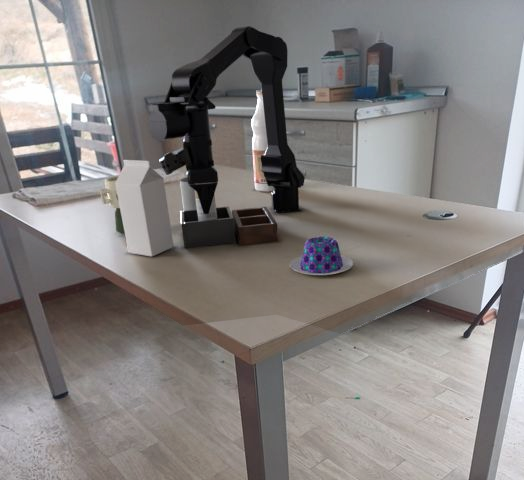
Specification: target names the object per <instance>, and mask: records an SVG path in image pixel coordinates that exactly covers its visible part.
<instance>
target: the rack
mask: <svg viewBox="0 0 524 480" xmlns="http://www.w3.org/2000/svg"><path fill="white" fill-rule="evenodd" d="M231 214H232V216H233V219H234V231H235V236H236V237H237V240H238V244H239V245H240V246H244V245H245V246H246V245H247V246H248V245H256V244H266V243H267V244H268V243H276V242H277V243H278V242H279V230H278V229H279V227H278V222H277V221H276V219H275V217H274V216H273V215H272V213H271V212H270V210H269V209H268V207H267V206H258V207H250V208H249V207H248V208H239V209H231Z"/></svg>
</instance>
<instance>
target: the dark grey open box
mask: <svg viewBox="0 0 524 480" xmlns="http://www.w3.org/2000/svg"><path fill="white" fill-rule="evenodd" d="M230 208H231V207H230V206H219V207H217V206H216V211H217V219H214V220H204V221H199V220H198V212H197V210H186V211H184V210H180V225H181V232H182V240H183V247H184V249H189V248H198V247H207V246H208V247H209V246H217V245H218V246H219V245H226V244H227V245H228V244H235V243H236V232H235V230H234V219H233V216H232V210H231V209H230Z"/></svg>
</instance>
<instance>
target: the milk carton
mask: <svg viewBox="0 0 524 480" xmlns="http://www.w3.org/2000/svg"><path fill="white" fill-rule="evenodd" d="M118 176H119V177H118V178H117V180H116V182H115V185H116V190H117V195H118V200H119V206H120V211H121V216H122V221H123V226H124V231H125V234H124V236H125V241H126V247H127V251H128V253H129V254H134V255H139V256H140V255H141V256H147V257H154V256H156V255H158V254H161V253H163V252H165V251H168V250H170V249H173V248H174V239H173V233H172V226H171V218H170V212H169V205H168V199H167V193H166V186H165V179H164V177H163V176H162V175H160V173H158V172H157V171H156V170H155V169H154V168H153V167H151V164H150V160H137V159H135V160H134V159H123V166H122V169H121V171H120V172H119V175H118Z"/></svg>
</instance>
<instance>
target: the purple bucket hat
mask: <svg viewBox="0 0 524 480" xmlns="http://www.w3.org/2000/svg"><path fill="white" fill-rule="evenodd" d="M353 265H354V261H353V259H351V258H350V257H348V256H345V255H342V254H341V251H340V246H339V243H338V241H337V240H336V239H334V238H333V237H330V236H315V237H311V238H309V239H307V240H306V242H305V243H304V246H303V252H302V255H301V256H299V257H296V258H294V259H293V260H291V261H290V263H289V267H290V268H291V269H292V270H293V271H295V272H297V273H300V274H304V275H310V276H328V275H329V276H330V275H336V274H339V273H342V272H346V271H348V270H350V269H352V267H353Z"/></svg>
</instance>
